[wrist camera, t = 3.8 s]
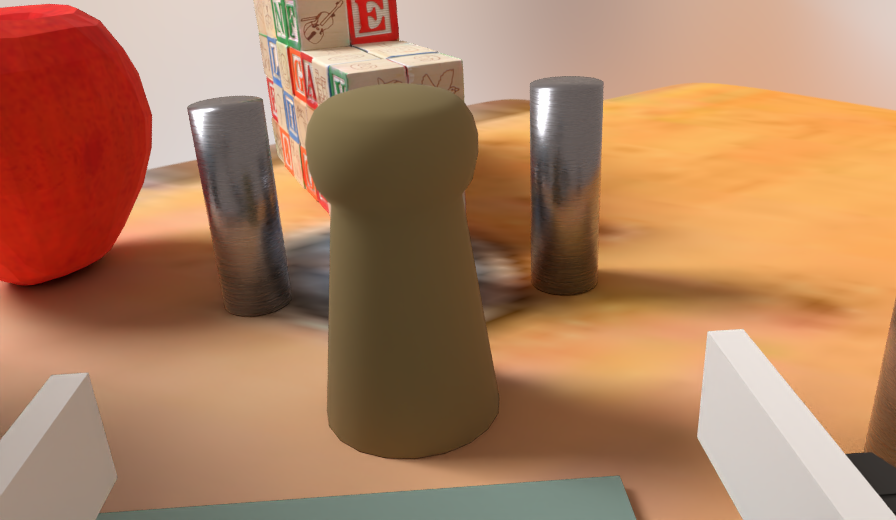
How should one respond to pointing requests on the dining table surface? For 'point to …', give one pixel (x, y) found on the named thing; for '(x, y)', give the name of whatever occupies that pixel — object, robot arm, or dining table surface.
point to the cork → (402, 271)
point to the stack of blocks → (336, 64)
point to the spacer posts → (552, 210)
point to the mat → (428, 504)
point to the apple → (65, 141)
